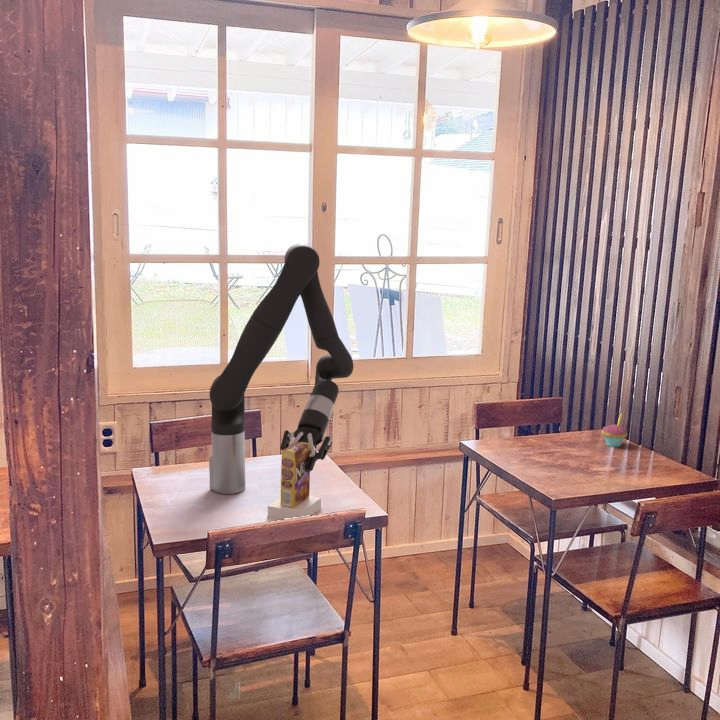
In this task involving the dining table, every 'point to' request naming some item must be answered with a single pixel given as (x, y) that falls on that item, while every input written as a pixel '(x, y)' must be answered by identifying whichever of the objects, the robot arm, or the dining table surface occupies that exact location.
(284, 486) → the candy box
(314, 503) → the plate
